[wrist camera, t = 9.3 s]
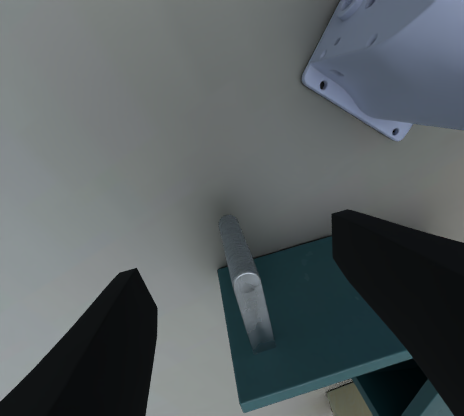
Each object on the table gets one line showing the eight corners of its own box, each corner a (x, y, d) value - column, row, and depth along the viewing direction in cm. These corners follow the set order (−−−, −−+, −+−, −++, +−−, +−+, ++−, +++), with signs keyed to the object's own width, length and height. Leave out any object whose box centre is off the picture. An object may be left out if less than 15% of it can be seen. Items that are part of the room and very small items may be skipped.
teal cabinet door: (196, 209, 18) (205, 325, 9) (351, 165, 19) (506, 233, 10) (219, 277, 21) (243, 414, 12) (350, 238, 22) (466, 341, 13)
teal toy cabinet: (322, 327, 27) (392, 450, 18) (357, 233, 22) (482, 337, 13) (382, 322, 29) (476, 433, 19) (427, 233, 24) (586, 326, 14)
